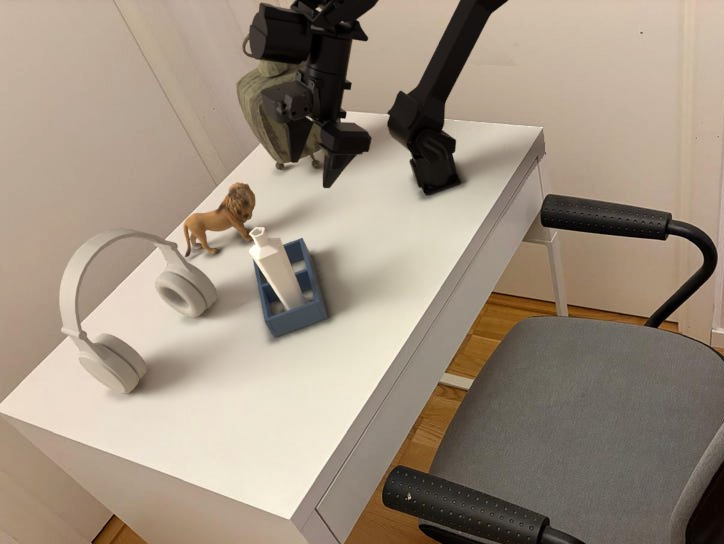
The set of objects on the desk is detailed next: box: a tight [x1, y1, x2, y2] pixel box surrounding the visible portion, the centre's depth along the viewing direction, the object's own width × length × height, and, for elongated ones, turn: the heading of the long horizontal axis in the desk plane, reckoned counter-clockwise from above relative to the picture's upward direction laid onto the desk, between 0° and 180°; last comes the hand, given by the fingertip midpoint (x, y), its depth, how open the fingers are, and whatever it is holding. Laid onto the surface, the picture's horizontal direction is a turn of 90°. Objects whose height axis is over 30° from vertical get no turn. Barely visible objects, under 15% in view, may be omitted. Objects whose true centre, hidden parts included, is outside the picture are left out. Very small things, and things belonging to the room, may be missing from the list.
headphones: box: [58, 227, 218, 394], centre depth 103 cm, size 20×8×19 cm, turn 152°
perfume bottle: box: [248, 226, 311, 312], centre depth 104 cm, size 5×4×15 cm
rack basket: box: [252, 237, 329, 339], centre depth 111 cm, size 8×16×4 cm, turn 18°
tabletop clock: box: [235, 33, 342, 171], centre depth 126 cm, size 14×9×25 cm, turn 120°
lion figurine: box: [183, 181, 257, 258], centre depth 121 cm, size 15×5×9 cm, turn 116°
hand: (309, 174), depth 111 cm, fingers open, 9 cm apart
